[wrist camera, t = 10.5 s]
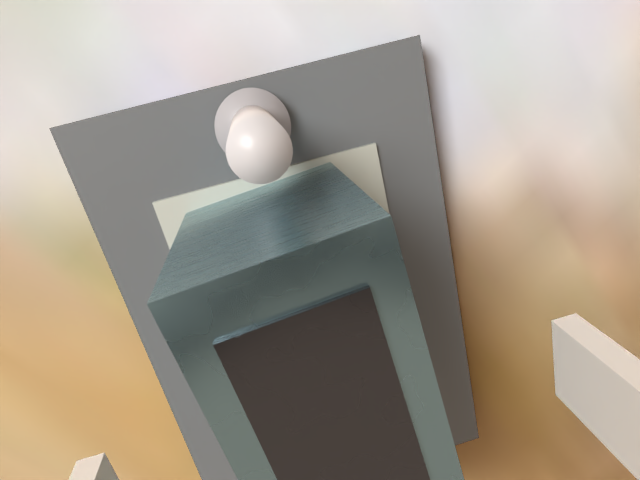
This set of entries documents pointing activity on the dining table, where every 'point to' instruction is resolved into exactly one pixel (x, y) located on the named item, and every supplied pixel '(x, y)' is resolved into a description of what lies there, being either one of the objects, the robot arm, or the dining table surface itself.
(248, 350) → the block
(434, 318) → the grey flat pegged piece
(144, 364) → the dining table surface
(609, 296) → the dining table surface
